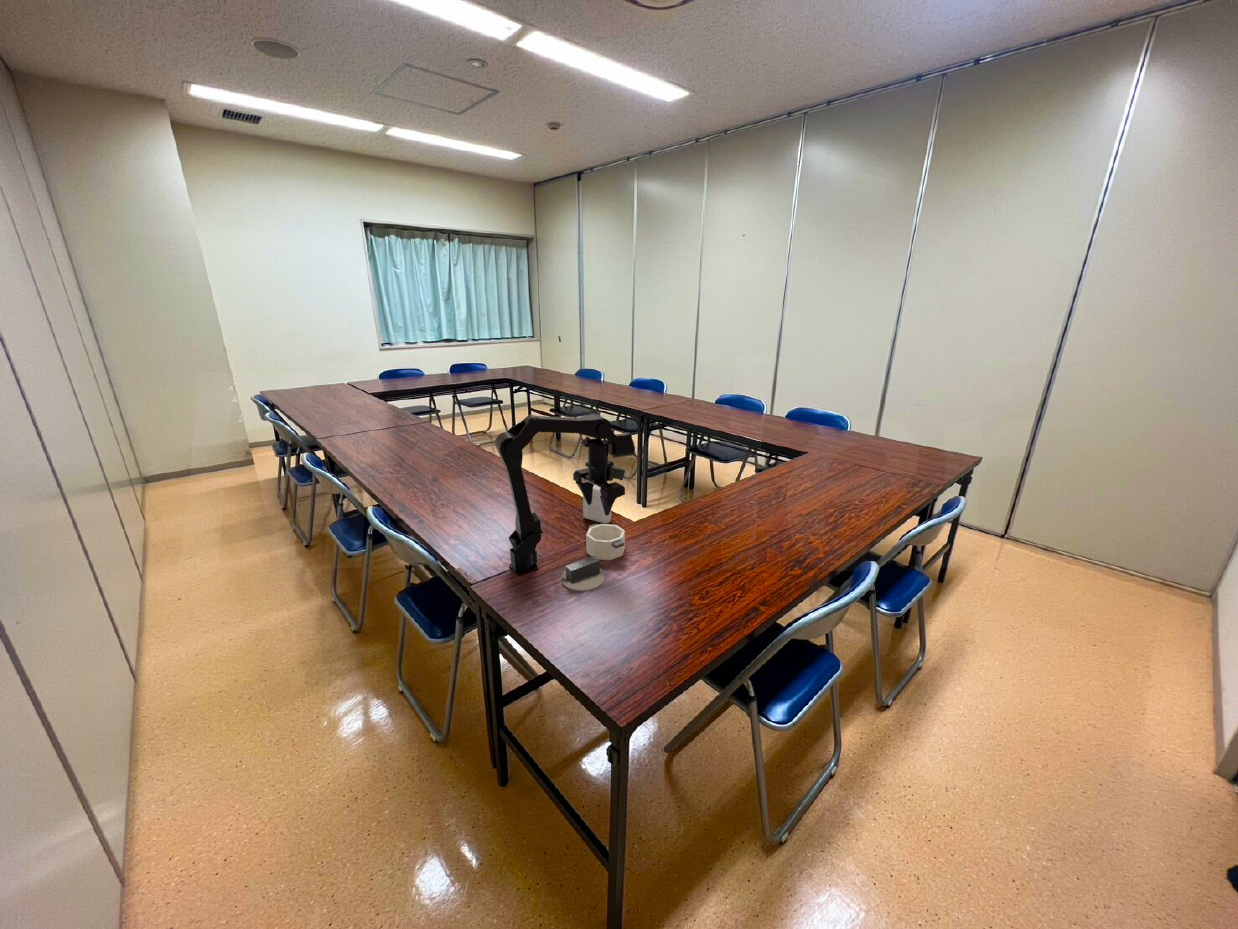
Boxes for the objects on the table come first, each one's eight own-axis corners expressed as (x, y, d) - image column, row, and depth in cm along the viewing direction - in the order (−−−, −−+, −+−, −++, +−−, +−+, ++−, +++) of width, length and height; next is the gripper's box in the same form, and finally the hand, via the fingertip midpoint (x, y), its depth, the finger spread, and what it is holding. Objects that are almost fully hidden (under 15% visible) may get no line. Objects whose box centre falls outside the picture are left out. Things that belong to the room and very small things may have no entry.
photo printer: (613, 520, 164) (613, 487, 160) (606, 525, 160) (606, 491, 156) (588, 513, 169) (587, 481, 165) (581, 518, 165) (580, 485, 161)
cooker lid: (575, 597, 122) (574, 580, 121) (553, 576, 132) (552, 560, 130) (613, 581, 129) (613, 566, 127) (590, 562, 138) (589, 547, 136)
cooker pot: (604, 566, 136) (604, 548, 134) (577, 545, 147) (577, 528, 145) (635, 555, 142) (635, 537, 140) (607, 535, 153) (606, 519, 151)
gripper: (641, 463, 132) (639, 514, 137) (602, 447, 146) (602, 493, 151) (608, 470, 126) (608, 523, 131) (571, 453, 140) (572, 501, 145)
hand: (598, 509), depth 140 cm, fingers open, 9 cm apart
